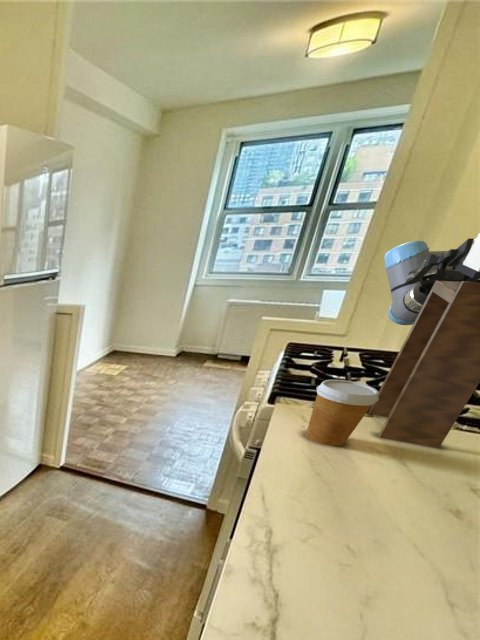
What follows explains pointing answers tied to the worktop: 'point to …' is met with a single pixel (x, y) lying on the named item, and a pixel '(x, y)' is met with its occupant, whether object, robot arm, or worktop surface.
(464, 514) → the worktop surface
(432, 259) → the robot arm
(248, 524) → the worktop surface
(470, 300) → the tall wooden cabinet
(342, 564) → the worktop surface
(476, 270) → the white block dark base
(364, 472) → the worktop surface
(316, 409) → the disposable coffee cup
